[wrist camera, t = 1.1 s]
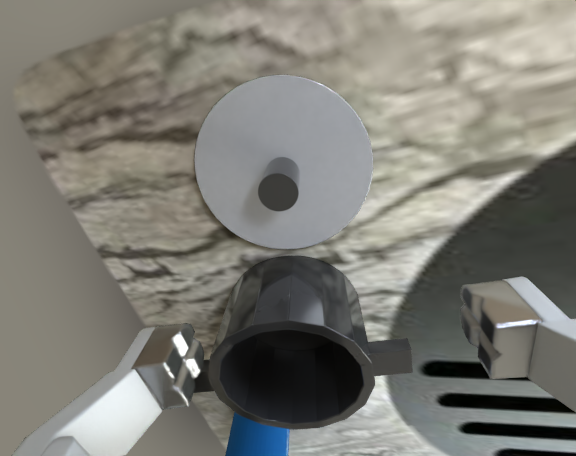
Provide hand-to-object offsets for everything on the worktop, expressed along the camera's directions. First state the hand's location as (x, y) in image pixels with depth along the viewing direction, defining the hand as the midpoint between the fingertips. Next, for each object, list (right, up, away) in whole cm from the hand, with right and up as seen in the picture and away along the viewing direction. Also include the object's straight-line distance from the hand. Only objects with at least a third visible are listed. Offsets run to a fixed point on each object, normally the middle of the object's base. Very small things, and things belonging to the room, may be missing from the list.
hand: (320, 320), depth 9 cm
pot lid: (-1, +7, +12) cm, 14 cm away
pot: (0, -5, +19) cm, 19 cm away
